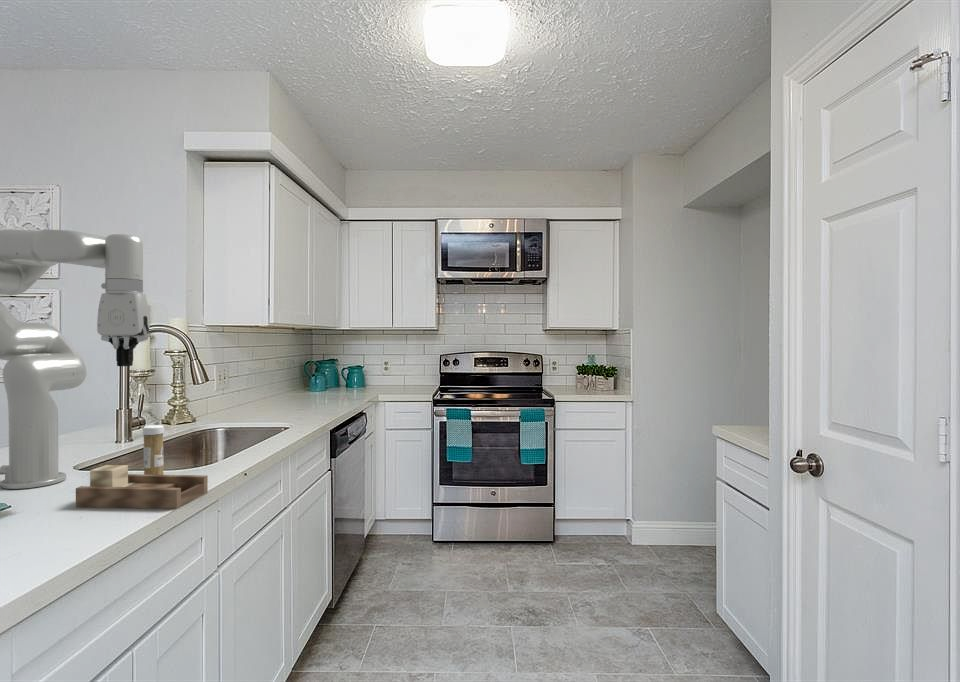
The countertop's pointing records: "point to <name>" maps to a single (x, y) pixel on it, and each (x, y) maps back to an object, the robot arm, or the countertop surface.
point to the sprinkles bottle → (153, 449)
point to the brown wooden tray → (145, 492)
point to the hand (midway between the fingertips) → (124, 365)
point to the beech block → (109, 476)
